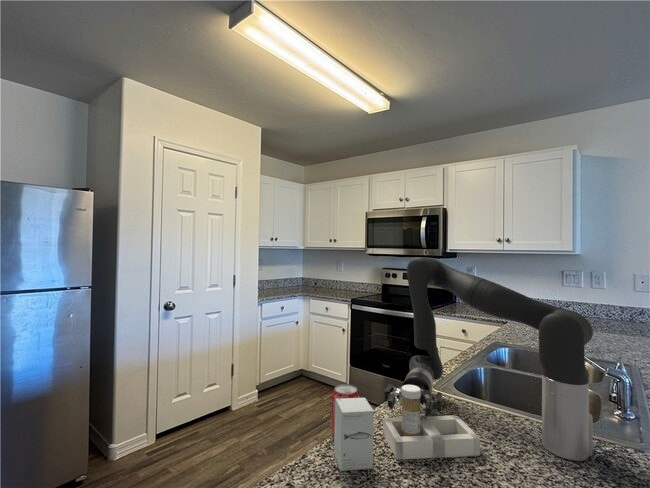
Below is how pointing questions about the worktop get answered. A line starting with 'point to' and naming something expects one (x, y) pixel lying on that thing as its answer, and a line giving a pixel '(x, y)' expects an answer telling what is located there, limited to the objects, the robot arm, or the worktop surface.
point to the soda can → (341, 393)
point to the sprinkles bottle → (411, 410)
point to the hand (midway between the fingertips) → (408, 408)
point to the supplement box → (353, 434)
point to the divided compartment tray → (432, 438)
